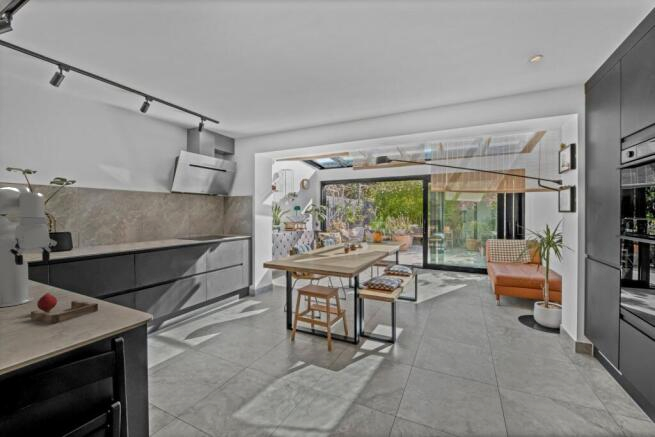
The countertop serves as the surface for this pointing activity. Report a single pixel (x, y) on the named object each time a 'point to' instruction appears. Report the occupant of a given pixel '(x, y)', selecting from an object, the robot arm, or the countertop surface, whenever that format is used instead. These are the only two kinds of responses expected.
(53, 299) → the onion
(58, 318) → the corral
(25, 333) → the countertop surface
